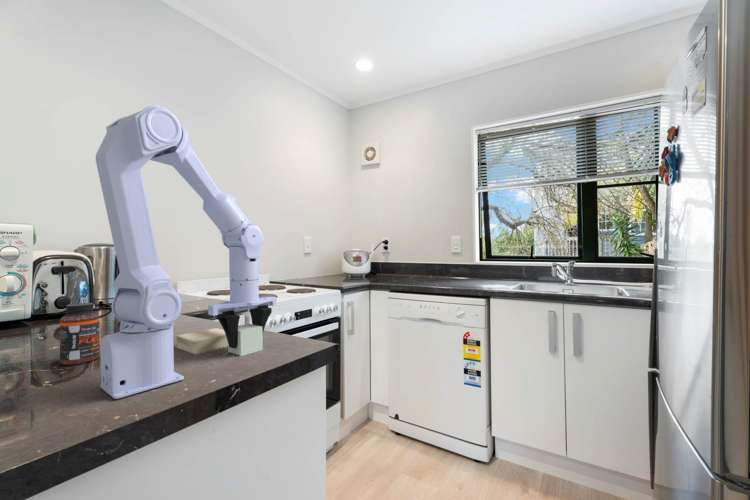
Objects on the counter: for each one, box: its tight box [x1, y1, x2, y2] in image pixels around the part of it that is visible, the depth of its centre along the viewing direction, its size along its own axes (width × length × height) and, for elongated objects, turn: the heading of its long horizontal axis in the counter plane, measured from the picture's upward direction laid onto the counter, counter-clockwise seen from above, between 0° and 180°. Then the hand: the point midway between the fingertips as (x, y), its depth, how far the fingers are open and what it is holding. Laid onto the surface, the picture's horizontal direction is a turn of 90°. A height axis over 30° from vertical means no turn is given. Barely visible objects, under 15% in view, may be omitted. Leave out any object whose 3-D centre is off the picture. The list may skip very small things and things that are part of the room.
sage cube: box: [227, 323, 264, 357], centre depth 72 cm, size 5×5×5 cm
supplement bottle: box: [59, 302, 101, 366], centre depth 68 cm, size 6×6×11 cm
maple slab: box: [176, 327, 228, 355], centre depth 77 cm, size 9×9×3 cm
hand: (245, 344), depth 72 cm, fingers closed on sage cube, 5 cm apart
